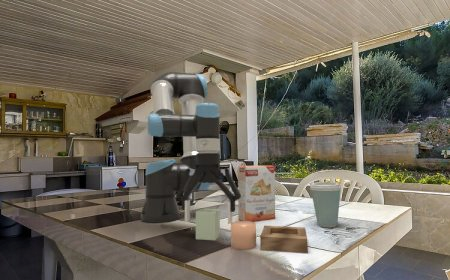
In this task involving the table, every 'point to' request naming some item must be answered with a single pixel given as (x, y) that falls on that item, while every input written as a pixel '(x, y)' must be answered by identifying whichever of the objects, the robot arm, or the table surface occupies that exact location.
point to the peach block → (243, 235)
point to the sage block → (208, 224)
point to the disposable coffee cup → (326, 202)
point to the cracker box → (256, 193)
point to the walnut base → (284, 239)
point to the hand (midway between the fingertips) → (208, 222)
